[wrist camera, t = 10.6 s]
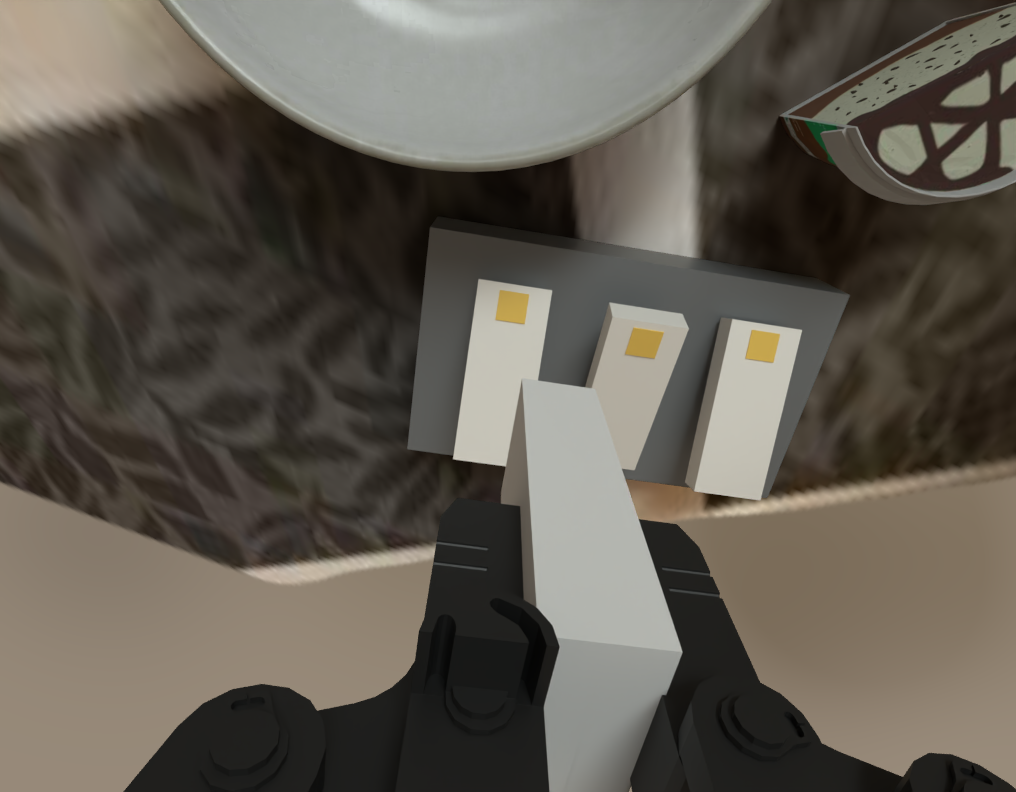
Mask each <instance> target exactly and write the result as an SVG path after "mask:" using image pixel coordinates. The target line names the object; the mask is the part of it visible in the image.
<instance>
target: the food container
mask: <svg viewBox="0 0 1016 792" xmlns="http://www.w3.org/2000/svg"><path fill="white" fill-rule="evenodd" d="M779 118H780V120H781V122H782V124H783V127H784V129H785V131H786V133H787V135H788V136H789V137H790V138H791V139H792V140H793V141H794V142H795V143H796V145H797V146H798V147H799V148H800V149H801V150H802V151H803V152H804V153H806V154H808V155H810V156H812V157H814V158H816V159H818V160H821V161H823V162H825V163H827V164H830V165H833V166H836V167H838V168H839V169H840V170H841V171H842V172H843V173H844V174H845V175H846V176H847V177H848V178H849V179H850V180H851V181H852V182H853V183H854V184H856V185H857V186H859V187H860V188H862V189H863V190H865V191H866V192H867V193H870V194H872V195H874V196H877V197H879V198H881V199H884V200H887V201H891V202H896V203H901V204H908V205H930V204H938V203H946V202H954V201H962V200H968V199H972V198H975V197H979V196H983V195H986V194H989V193H992V192H994V191H996V190H999V189H1001V188H1003V187H1006V186H1008V185H1010V184H1012V183H1014V182H1016V2H1015V3H1011V4H1007V5H1003V6H1000V7H996V8H992V9H988V10H985V11H981V12H977V13H974V14H970V15H966V16H962V17H959V18H955V19H951V20H947V21H946V22H944V23H942V24H940V25H938V26H937V27H935V28H933V29H931V30H930V31H928V32H926V33H924V34H923V35H921V36H919V37H917V38H916V39H914V40H912V41H910V42H908V43H907V44H905V45H903V46H901V47H900V48H898V49H896V50H894V51H893V52H891V53H889V54H887V55H885V56H884V57H882V58H880V59H878V60H877V61H875V62H873V63H871V64H870V65H868V66H866V67H864V68H863V69H861V70H859V71H857V72H855V73H854V74H852V75H850V76H848V77H847V78H845V79H843V80H841V81H840V82H838V83H836V84H834V85H833V86H831V87H829V88H827V89H825V90H824V91H822V92H820V93H818V94H817V95H815V96H813V97H811V98H810V99H808V100H806V101H804V102H802V103H801V104H799V105H797V106H795V107H794V108H792V109H790V110H788V111H787V112H785V113H783V114H781V115H780V116H779Z"/></svg>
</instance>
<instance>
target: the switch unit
mask: <svg viewBox="0 0 1016 792" xmlns="http://www.w3.org/2000/svg"><path fill="white" fill-rule="evenodd" d="M479 279H483V280H489V281H496V282H502V283H508V284H515V285H521V286H527V287H534V288H540V289H547V290H552V296H551V302H550V308H549V314H548V321H547V327H546V333H545V339H544V345H543V352H542V358H541V364H540V370H539V376H538V381H544V382H551V383H558V384H565V385H572V386H579V387H585V386H586V382H587V379H588V375H589V372H590V368H591V365H592V361H593V358H594V354H595V351H596V347H597V344H598V340H599V337H600V333H601V330H602V326H603V323H604V319H605V316H606V312H607V309H608V305H609V302H610V303H616V304H623V305H629V306H635V307H642V308H648V309H655V310H661V311H667V312H674V313H680V314H683V316H684V319H685V321H686V323H687V325H688V328H689V330H688V332H687V335H686V338H685V340H684V343H683V345H682V348H681V351H680V353H679V356H678V358H677V361H676V364H675V366H674V369H673V371H672V374H671V377H670V379H669V382H668V384H667V387H666V390H665V392H664V395H663V398H662V400H661V403H660V405H659V408H658V411H657V413H656V416H655V418H654V421H653V424H652V426H651V429H650V431H649V434H648V437H647V439H646V442H645V444H644V447H643V450H642V452H641V455H640V457H639V460H638V463H637V465H636V468H635V470H628V469H622V471H623V474H624V477H625V479H631V480H638V481H645V482H653V483H660V484H667V485H675V486H682V487H689V486H688V485H687V484H686V483H685V479H686V475H687V470H688V466H689V461H690V457H691V452H692V447H693V443H694V438H695V434H696V429H697V425H698V420H699V415H700V411H701V406H702V402H703V397H704V393H705V388H706V384H707V379H708V374H709V370H710V365H711V361H712V356H713V352H714V347H715V342H716V338H717V333H718V329H719V324H720V320H721V317H723V318H729V319H735V320H742V321H748V322H755V323H761V324H767V325H774V326H780V327H786V328H793V329H799V330H802V333H801V337H800V341H799V345H798V349H797V353H796V357H795V362H794V366H793V370H792V374H791V378H790V382H789V386H788V390H787V394H786V398H785V402H784V406H783V411H782V415H781V419H780V423H779V427H778V431H777V435H776V439H775V443H774V447H773V451H772V455H771V459H770V464H769V468H768V472H767V476H766V480H765V484H764V488H763V492H762V496H761V497H763V498H767V497H768V495H769V492H770V490H771V487H772V485H773V482H774V480H775V478H776V475H777V473H778V470H779V468H780V465H781V463H782V460H783V458H784V456H785V453H786V451H787V448H788V446H789V443H790V441H791V438H792V436H793V433H794V431H795V429H796V426H797V424H798V421H799V419H800V416H801V414H802V411H803V409H804V407H805V404H806V402H807V399H808V397H809V394H810V392H811V389H812V387H813V384H814V382H815V380H816V377H817V375H818V372H819V370H820V367H821V365H822V362H823V360H824V358H825V355H826V353H827V350H828V348H829V345H830V343H831V340H832V338H833V335H834V333H835V331H836V328H837V326H838V323H839V321H840V318H841V316H842V313H843V311H844V309H845V306H846V304H847V301H848V299H849V296H850V295H849V294H847V293H845V292H843V291H841V290H839V289H837V288H835V287H833V286H831V285H829V284H827V283H826V282H824V281H822V280H820V279H818V278H813V277H807V276H801V275H795V274H789V273H783V272H777V271H770V270H764V269H758V268H752V267H746V266H740V265H734V264H728V263H721V262H715V261H709V260H703V259H697V258H691V257H685V256H679V255H672V254H666V253H660V252H654V251H648V250H642V249H636V248H630V247H623V246H617V245H611V244H605V243H599V242H593V241H587V240H581V239H574V238H568V237H562V236H556V235H550V234H544V233H538V232H532V231H525V230H519V229H513V228H507V227H501V226H495V225H489V224H483V223H476V222H470V221H464V220H458V219H452V218H446V217H440V216H437V218H436V219H435V221H434V222H433V224H432V225H431V226H430V233H429V242H428V252H427V262H426V272H425V281H424V291H423V301H422V311H421V320H420V330H419V340H418V350H417V359H416V369H415V379H414V389H413V399H412V408H411V418H410V428H409V438H408V447H407V449H409V450H417V451H424V452H431V453H439V454H446V455H454V448H455V441H456V434H457V427H458V420H459V413H460V406H461V399H462V392H463V385H464V378H465V371H466V364H467V357H468V350H469V343H470V336H471V329H472V322H473V315H474V308H475V301H476V294H477V287H478V280H479Z"/></svg>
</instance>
